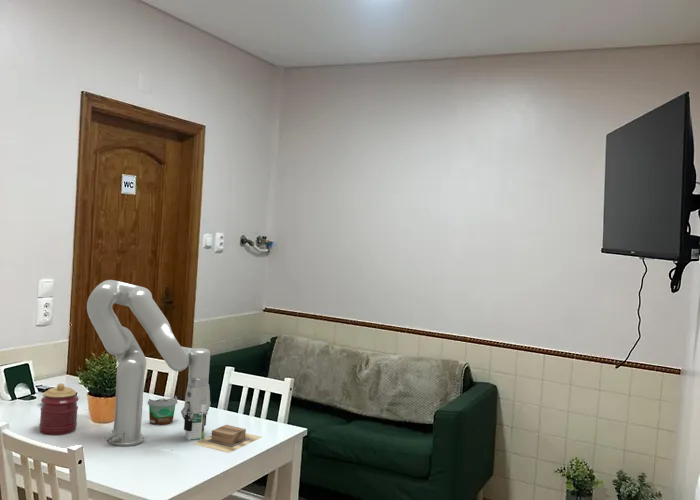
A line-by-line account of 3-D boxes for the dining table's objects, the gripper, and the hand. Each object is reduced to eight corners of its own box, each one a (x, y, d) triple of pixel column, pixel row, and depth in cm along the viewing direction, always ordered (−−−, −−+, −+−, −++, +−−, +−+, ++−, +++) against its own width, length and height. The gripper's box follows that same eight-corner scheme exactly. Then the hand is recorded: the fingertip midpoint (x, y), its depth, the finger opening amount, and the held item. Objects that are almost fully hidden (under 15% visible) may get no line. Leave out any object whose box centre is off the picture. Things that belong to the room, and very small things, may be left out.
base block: (231, 446, 236) (232, 435, 236) (211, 441, 240) (212, 430, 240) (245, 439, 244) (245, 429, 244) (225, 434, 248) (226, 424, 248)
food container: (152, 427, 253) (154, 402, 253) (146, 423, 258) (147, 398, 258) (181, 423, 261) (183, 399, 261) (174, 419, 266) (176, 395, 266)
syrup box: (188, 443, 239) (191, 405, 238) (184, 438, 244) (187, 400, 243) (203, 442, 241) (206, 404, 241) (199, 437, 246) (202, 399, 246)
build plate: (228, 456, 229) (229, 452, 229) (192, 447, 235) (192, 442, 235) (261, 440, 249) (262, 436, 249) (227, 431, 255) (227, 428, 255)
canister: (31, 429, 240) (34, 383, 240) (62, 422, 251) (65, 377, 251) (52, 438, 234) (55, 389, 233) (83, 430, 245) (87, 384, 244)
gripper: (191, 387, 232) (188, 435, 233) (220, 379, 248) (216, 424, 249) (175, 384, 235) (171, 431, 236) (204, 375, 251) (201, 420, 252)
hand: (194, 427), depth 242 cm, fingers closed on syrup box, 7 cm apart
